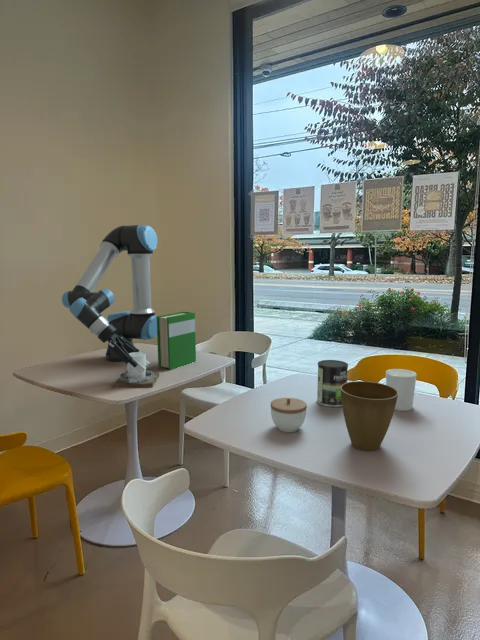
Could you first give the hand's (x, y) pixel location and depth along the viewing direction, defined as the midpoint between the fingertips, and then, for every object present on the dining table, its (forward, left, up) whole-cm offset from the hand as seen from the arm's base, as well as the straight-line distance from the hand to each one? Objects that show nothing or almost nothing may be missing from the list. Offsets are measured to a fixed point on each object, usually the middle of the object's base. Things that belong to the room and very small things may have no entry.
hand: (145, 368), depth 175 cm
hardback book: (-26, +10, -6) cm, 28 cm away
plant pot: (+60, +73, -6) cm, 94 cm away
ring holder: (0, -3, -6) cm, 7 cm away
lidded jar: (+48, +53, -6) cm, 72 cm away
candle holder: (+31, +93, -6) cm, 98 cm away
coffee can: (+26, +71, -6) cm, 76 cm away
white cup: (0, -3, -4) cm, 6 cm away
